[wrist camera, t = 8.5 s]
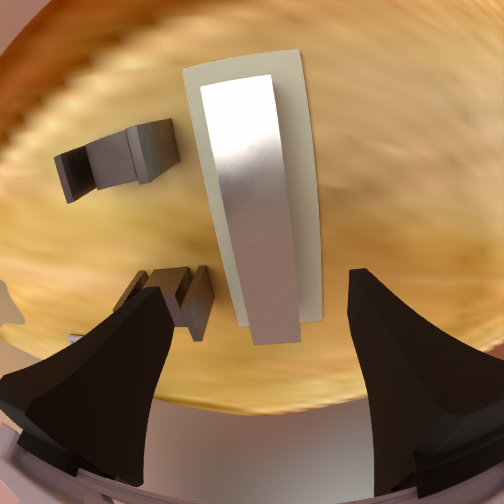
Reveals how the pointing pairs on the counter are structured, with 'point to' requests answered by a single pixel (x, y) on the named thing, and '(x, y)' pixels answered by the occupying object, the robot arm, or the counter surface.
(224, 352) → the counter surface
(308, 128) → the mat
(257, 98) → the rail
